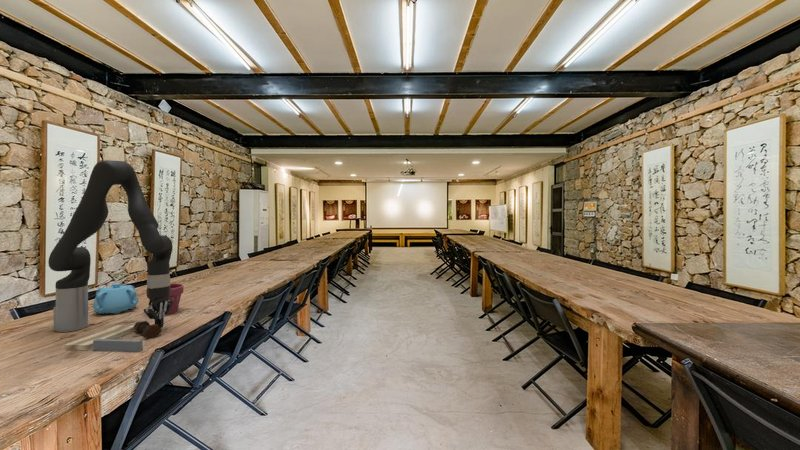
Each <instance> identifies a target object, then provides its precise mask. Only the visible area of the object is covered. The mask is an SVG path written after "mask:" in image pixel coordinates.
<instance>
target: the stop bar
mask: <svg viewBox="0 0 800 450" xmlns="http://www.w3.org/2000/svg"><path fill="white" fill-rule="evenodd" d="M143 343H144V342H143V339H124V338H123V339H122V338H121V339H120V338H117V339H96V340H93V348H92V349H93V351H95V352H96V351H97V352H100V351H101V352H129V353H130V352H133V353H134V352H137V353H140V352H141V351H143V349H144V348H143V347H144V345H143Z"/></svg>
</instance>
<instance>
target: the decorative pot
mask: <svg viewBox="0 0 800 450" xmlns="http://www.w3.org/2000/svg"><path fill="white" fill-rule="evenodd" d="M135 289H136V288H135V286H134V285H131V284H128V285H125V284H123V285H121V283H120V282H116V283H112V284H111V286H107V287H101V288H98V289H97V290H96V292H95V298H94V300H93V305H92V309H93V310H94V312H96V313H99V314H100V315H102V314H103V315H104V313H105V314H114V315H119V314H121V313H122V312H125V311H129V310H128V309H131V310H132V309H133V308H135V307H136V306H137V305H138V303H139V296H138V294H137V290H135ZM118 313H119V314H118Z"/></svg>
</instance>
